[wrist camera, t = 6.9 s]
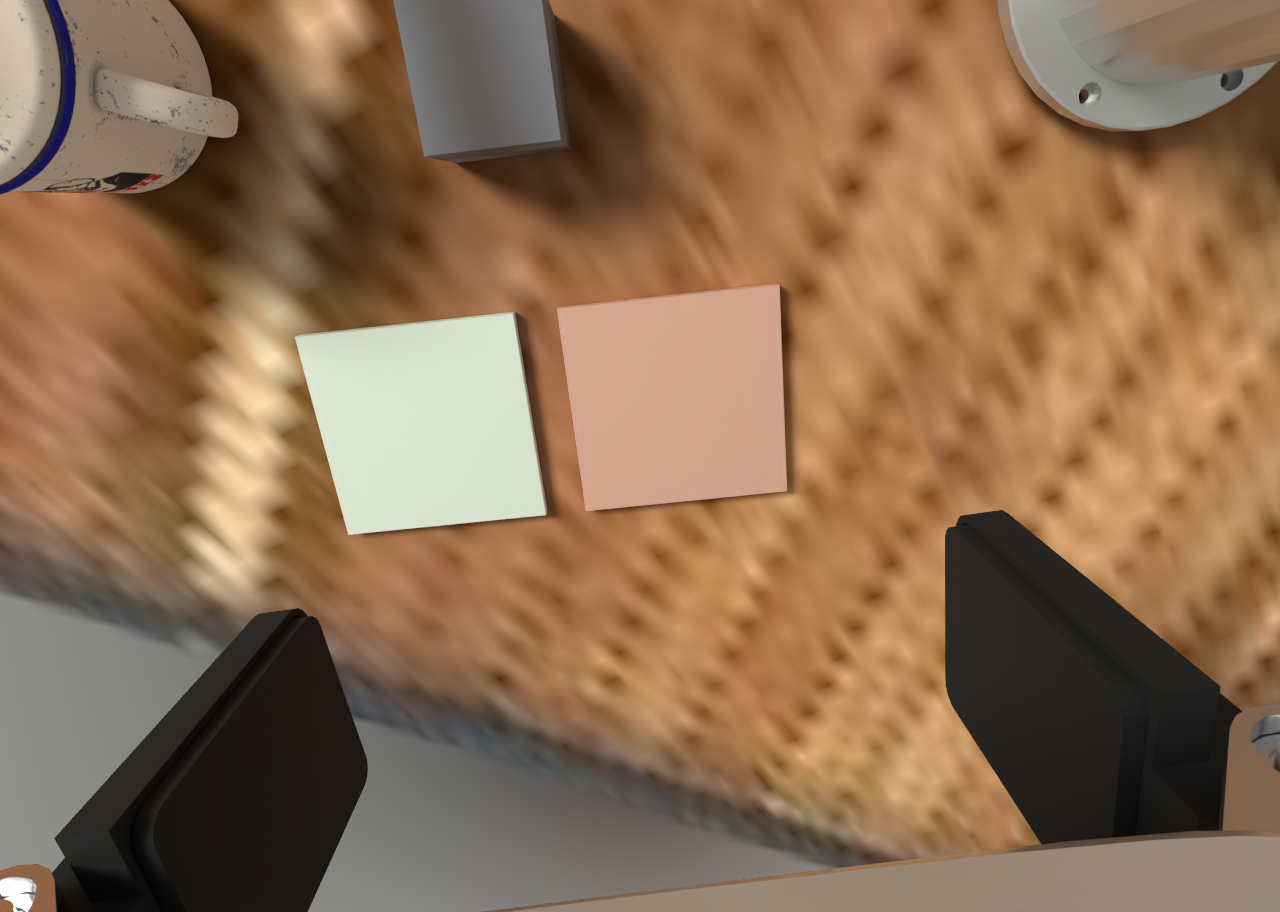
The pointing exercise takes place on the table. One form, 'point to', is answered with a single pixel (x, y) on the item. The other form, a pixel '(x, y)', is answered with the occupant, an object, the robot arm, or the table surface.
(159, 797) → the robot arm
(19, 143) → the teacup with lid
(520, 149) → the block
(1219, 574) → the table surface
